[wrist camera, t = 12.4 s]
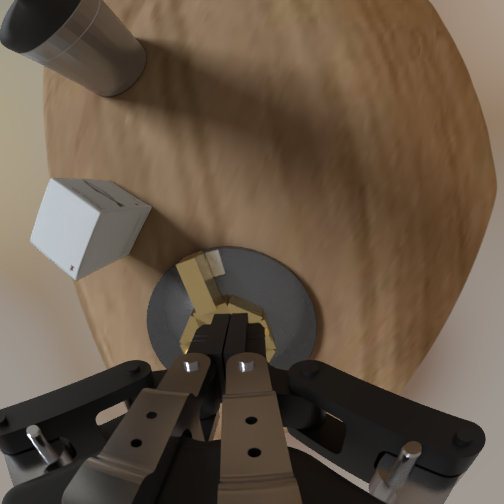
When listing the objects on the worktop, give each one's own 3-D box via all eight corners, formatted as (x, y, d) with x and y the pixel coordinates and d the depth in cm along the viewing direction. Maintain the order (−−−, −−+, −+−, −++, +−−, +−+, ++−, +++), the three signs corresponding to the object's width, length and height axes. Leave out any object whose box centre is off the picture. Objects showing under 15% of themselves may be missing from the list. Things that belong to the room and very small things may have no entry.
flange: (128, 270, 35) (103, 286, 28) (294, 225, 33) (303, 233, 27) (184, 401, 39) (173, 431, 32) (325, 374, 38) (336, 404, 31)
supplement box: (154, 206, 33) (103, 213, 21) (129, 256, 35) (75, 284, 22) (110, 178, 33) (50, 175, 20) (88, 227, 34) (27, 243, 21)
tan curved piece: (282, 356, 35) (285, 375, 31) (208, 377, 36) (203, 396, 32) (236, 237, 32) (233, 243, 28) (154, 267, 33) (142, 277, 29)
